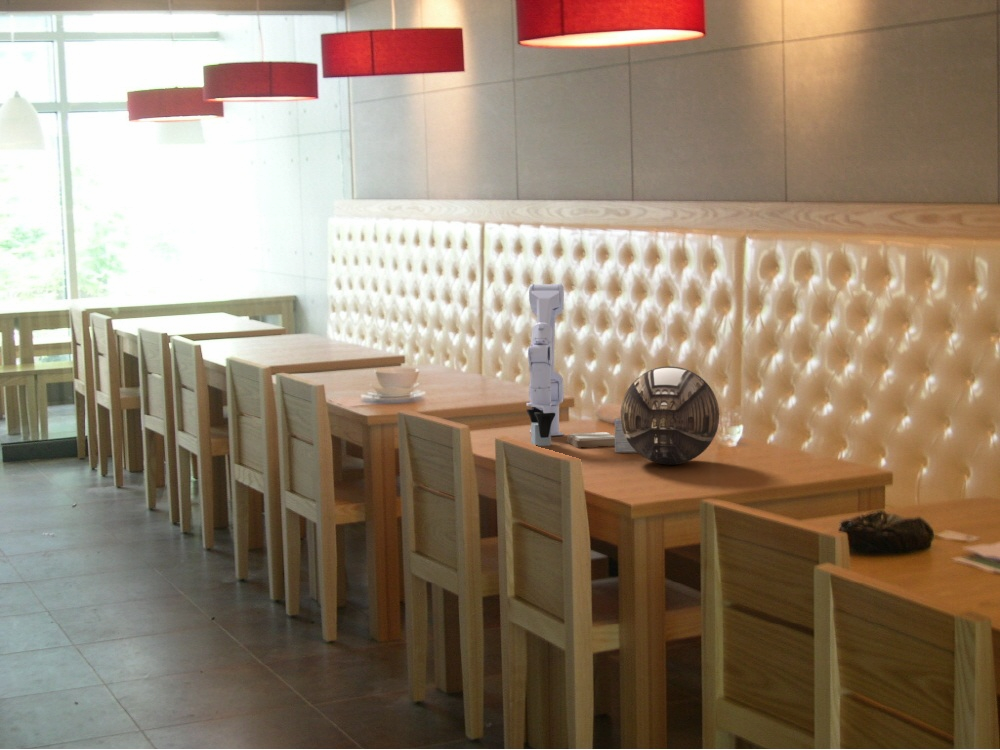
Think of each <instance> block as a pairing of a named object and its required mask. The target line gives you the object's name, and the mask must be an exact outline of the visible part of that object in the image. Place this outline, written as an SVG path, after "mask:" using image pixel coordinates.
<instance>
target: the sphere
mask: <svg viewBox="0 0 1000 750" xmlns="http://www.w3.org/2000/svg"><path fill="white" fill-rule="evenodd" d="M620 406H621V407H620V419H621V425H622V429H623V432H624V435H625V437H626V439H627V441H628V442H629V444H630V445H631V446H632V447H633V449H634V450H635V451H636V452H635V453H638V455H641V456H642V457H643V458H645V459H646V460H648V461H651V462H653V463H656V464H660V465H670V466H671V465H679V464H684V463H687V462H689V461H692V460H694V459H695V458H697V457H699V456H700V455H701V454H703V453H704V452H705V451H706V450H707V449H708V447H710V445H711V444H712V442H713V440H714V439H715V436H716V434H717V431H718V428H719V424H720V409H719V403H718V400H717V397H716V395H715V393H714V390H713V389H712V388H711V387H710V385H709V384H708V383H707V381H705V380H704V378H702V376H700V375H698V374H697V373H696V372H694V371H692V370H689V369H687V368H684V367H679V366H668V365H667V366H660V367H657V368H653V369H650V370H649V371H646V372H644V373H642V374H641V375H640V376H638V377H637V378H636V379H635V380H634V381H633V382H632V383H631V385H629V387H628V388H627V390H626V392H625V394H624V396H623V399H622V401H621V405H620Z"/></svg>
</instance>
